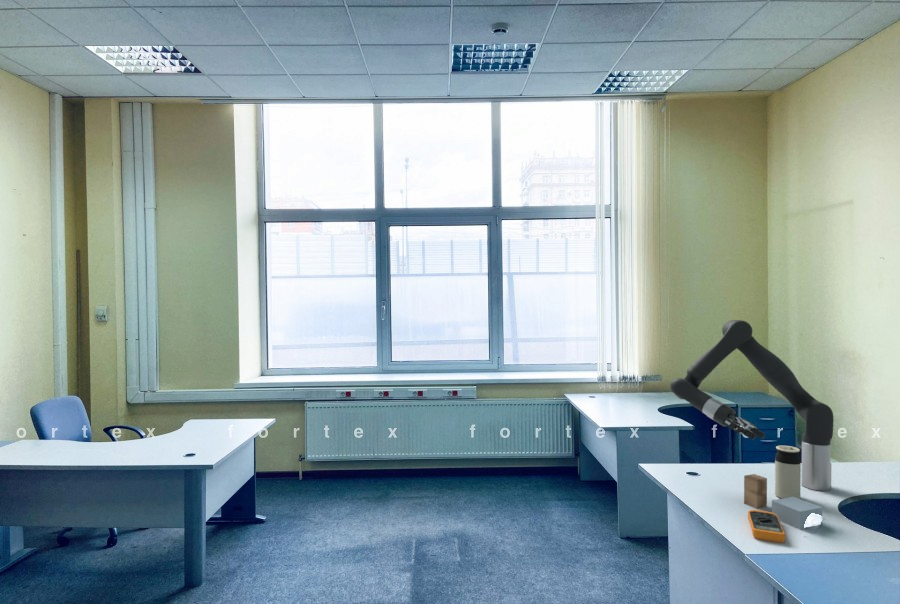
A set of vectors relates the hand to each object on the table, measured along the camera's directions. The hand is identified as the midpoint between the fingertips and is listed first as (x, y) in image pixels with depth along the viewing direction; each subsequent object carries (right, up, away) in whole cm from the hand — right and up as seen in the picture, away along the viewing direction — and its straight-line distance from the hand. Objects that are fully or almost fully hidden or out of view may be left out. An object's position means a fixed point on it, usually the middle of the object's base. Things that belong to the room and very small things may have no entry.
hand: (759, 437), depth 196 cm
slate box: (+2, -24, -18) cm, 29 cm away
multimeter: (-12, -24, -24) cm, 36 cm away
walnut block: (-4, -23, -4) cm, 24 cm away
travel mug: (+13, -23, +4) cm, 27 cm away
